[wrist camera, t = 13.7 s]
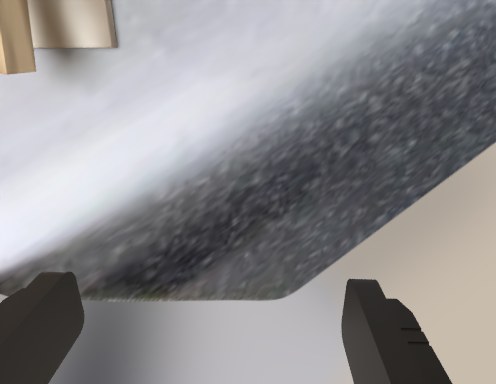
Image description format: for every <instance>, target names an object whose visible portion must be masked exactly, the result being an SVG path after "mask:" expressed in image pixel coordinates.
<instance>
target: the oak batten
mask: <svg viewBox="0 0 496 384" xmlns="http://www.w3.org/2000/svg"><path fill="white" fill-rule="evenodd" d="M26 72H36V66H35V58H34V50H33V42H32V34H31V26H30V17H29V9H28V1H27V0H0V74H16V73H26Z"/></svg>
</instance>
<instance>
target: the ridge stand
mask: <svg viewBox="0 0 496 384" xmlns="http://www.w3.org/2000/svg"><path fill="white" fill-rule="evenodd" d="M27 1H28V9H29V17H30V26H31V34H32V42H33V48H115V47H117V42H116V35H115V28H114V21H113V14H112V7H111V0H27Z"/></svg>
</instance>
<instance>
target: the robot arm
mask: <svg viewBox="0 0 496 384" xmlns="http://www.w3.org/2000/svg"><path fill="white" fill-rule="evenodd" d="M83 323H84V310H83V306H82V302H81V298H80V294H79V289H78V285H77V281H76V277H75V275H74V274H73V273H72V272H64V271H44V272H42V273H40V274H39V275H38V276H37V277H36V278H35V279H34V280H33V281H32V282H31V283H30V284H29V285H28V286H27V287H26V288H22V289H21V290H19V291H17V292H16V293H14V294H12V295H11V296H9V297H8V298H6V299H4V300H3V301H2V302H1V303H0V384H48V383H49V381H50V380H51V378H52V377H53V375H54V374H55V372H56V370H57V369H58V367H59V366H60V364H61V363H62V361H63V359H64V358H65V356H66V355H67V353H68V352H69V350H70V349H71V347H72V346H73V344H74V343H75V341H76V339H77V338H78V336H79V334H80V333H81V330H82V328H83ZM342 338H343V343H344V348H345V352H346V355H347V359H348V363H349V366H350V370H351V374H352V377H353V381H354V384H452V382H451V381H450V379H449V377H448V375H447V373H446V372H445V370H444V368H443V367H442V365H441V363H440V361H439V359H438V358H437V356H436V354H435V352H434V350H433V349H432V347H431V346H429V342H428V340H427V338H426V336H425V334H424V333H423V332H422V331H421V328H420V326H419V324H418V322H417V320H416V318H415V317H414V315H413V313H412V312H411V311H410V310H409V309H408V308H406V307H405V306H404V305H403V304H402V303H401V302H400V301H399V300H397V299H386V297H385V295H384V294H383V292H382V289H381V287H380V285H379V283H378V282H377V281H376V280H366V279H364V280H363V279H349V280H348V281H347V285H346V293H345V300H344V308H343V316H342Z"/></svg>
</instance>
